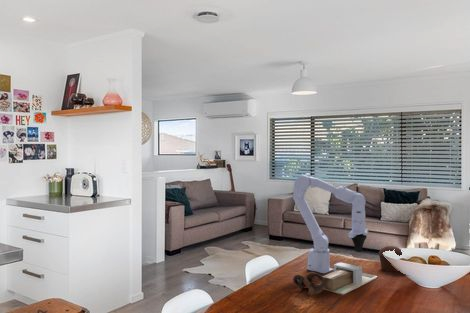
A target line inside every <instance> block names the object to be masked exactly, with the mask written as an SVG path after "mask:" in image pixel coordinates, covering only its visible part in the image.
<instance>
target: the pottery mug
mask: <svg viewBox="0 0 470 313" xmlns="http://www.w3.org/2000/svg"><path fill="white" fill-rule="evenodd" d="M322 276H323V275H321V274H319V272H315V271H309V272H307V273H306V274H305V275H301V274H295V275H294V276H293V278H292V281H293V283H294V284H295V285H296V286H298V288H299V289H300V290H301V289H304V288H308V291H307V295H309V296H313V295H314V294H317V293H320V292H322V291H323V290H324V286H325V284H324V279H323V277H322ZM316 277H317V278H318V279H319V280H320V281H321V283H320V284H317V283H315V282H314V281H313V279H314V278H316Z"/></svg>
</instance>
